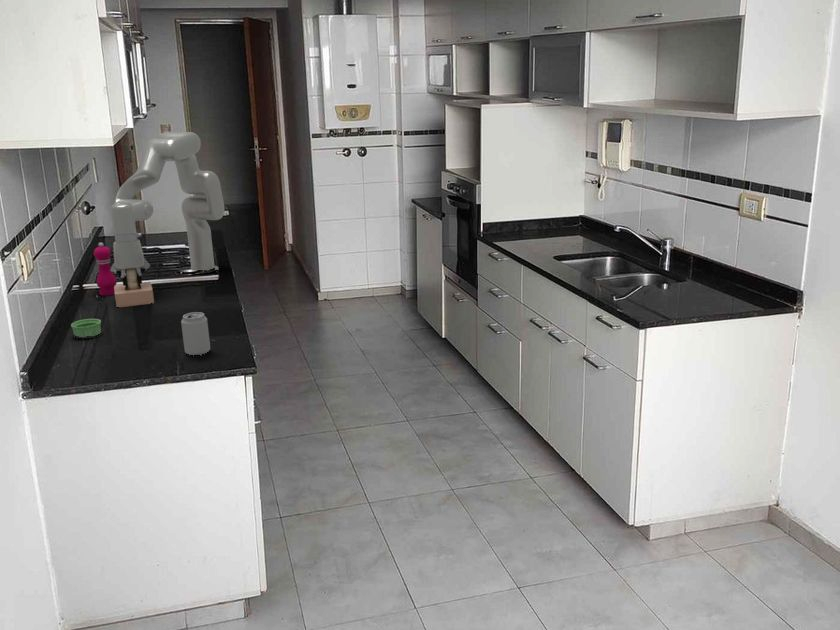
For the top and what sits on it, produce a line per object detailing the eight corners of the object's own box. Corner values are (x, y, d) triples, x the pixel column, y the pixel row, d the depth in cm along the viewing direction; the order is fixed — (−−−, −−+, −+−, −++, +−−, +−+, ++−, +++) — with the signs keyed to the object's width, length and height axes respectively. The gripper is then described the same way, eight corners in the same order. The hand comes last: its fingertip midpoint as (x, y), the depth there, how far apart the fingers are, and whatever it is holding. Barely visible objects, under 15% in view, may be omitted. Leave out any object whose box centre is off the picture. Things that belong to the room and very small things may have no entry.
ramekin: (108, 331, 263) (106, 319, 262) (92, 340, 255) (90, 327, 254) (83, 330, 265) (81, 318, 264) (67, 339, 257) (65, 326, 255)
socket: (115, 298, 301) (113, 285, 300) (152, 294, 306) (150, 281, 304) (116, 307, 289) (114, 294, 288) (154, 303, 294) (152, 290, 292)
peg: (128, 294, 298) (124, 267, 295) (139, 292, 299) (135, 266, 296) (128, 296, 294) (124, 270, 291) (140, 295, 296) (136, 269, 293)
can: (190, 348, 245) (186, 310, 241) (214, 348, 244) (210, 310, 241) (181, 356, 238) (176, 318, 234) (205, 357, 237) (201, 318, 233)
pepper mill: (115, 289, 314) (108, 239, 308) (120, 293, 308) (112, 242, 302) (96, 293, 310) (88, 242, 304) (100, 297, 304) (92, 245, 298)
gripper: (149, 233, 297) (155, 281, 302) (101, 238, 291) (108, 286, 296) (150, 237, 290) (157, 286, 295) (101, 242, 284) (109, 291, 290)
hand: (132, 286), depth 296 cm, fingers closed on peg, 3 cm apart
